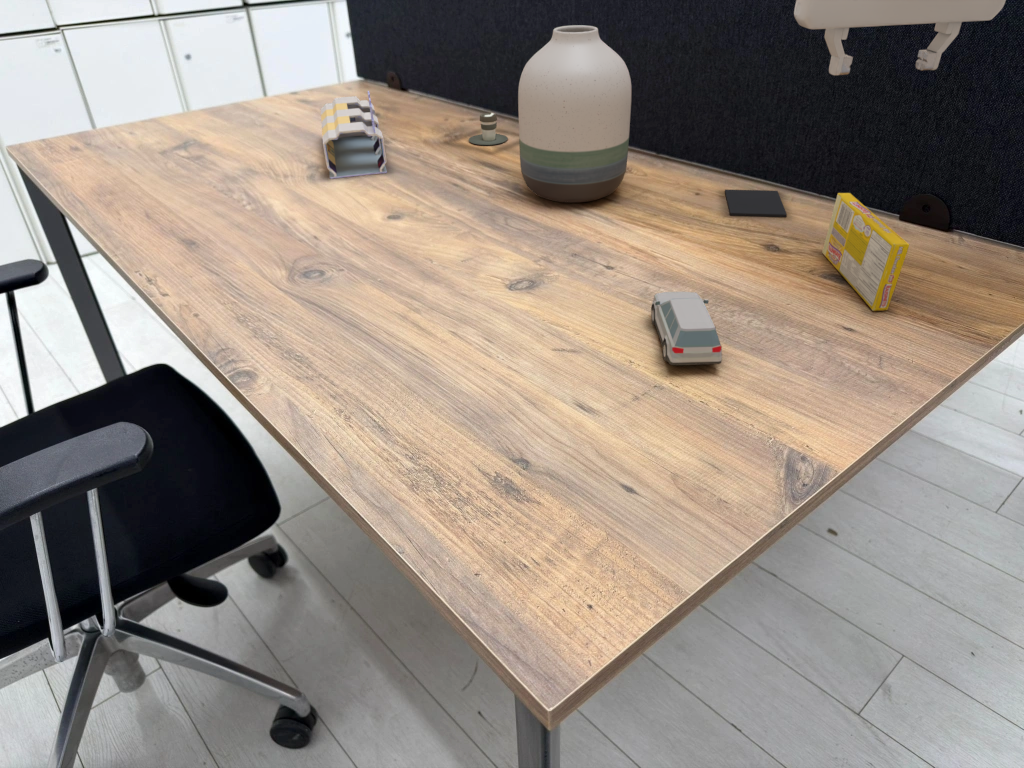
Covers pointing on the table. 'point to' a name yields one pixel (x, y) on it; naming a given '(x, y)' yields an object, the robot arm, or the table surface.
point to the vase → (574, 117)
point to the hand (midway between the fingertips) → (882, 71)
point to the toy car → (685, 329)
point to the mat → (755, 203)
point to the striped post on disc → (488, 131)
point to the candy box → (864, 251)
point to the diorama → (352, 138)
